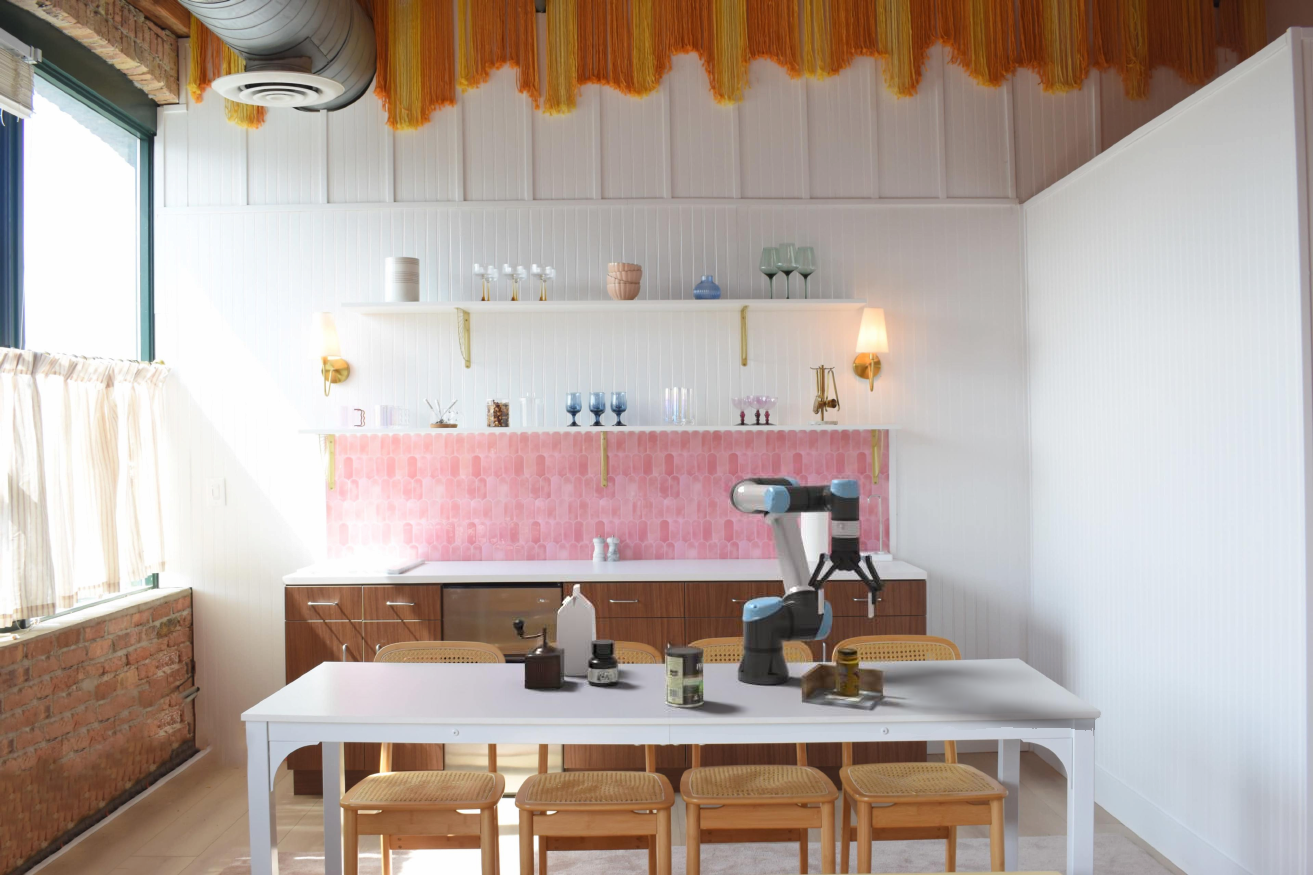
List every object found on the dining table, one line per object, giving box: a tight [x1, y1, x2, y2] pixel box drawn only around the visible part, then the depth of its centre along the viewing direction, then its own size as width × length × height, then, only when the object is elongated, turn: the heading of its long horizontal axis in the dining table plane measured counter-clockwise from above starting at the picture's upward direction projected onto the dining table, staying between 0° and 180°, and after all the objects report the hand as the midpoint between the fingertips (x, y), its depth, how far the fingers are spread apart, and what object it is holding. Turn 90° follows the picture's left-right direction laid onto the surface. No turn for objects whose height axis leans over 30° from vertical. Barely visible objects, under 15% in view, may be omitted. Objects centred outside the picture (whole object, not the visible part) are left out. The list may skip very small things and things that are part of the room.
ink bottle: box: [587, 639, 619, 687], centre depth 266 cm, size 10×9×12 cm
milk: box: [555, 584, 597, 677], centre depth 282 cm, size 12×12×26 cm
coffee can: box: [664, 645, 705, 709], centre depth 245 cm, size 10×10×14 cm
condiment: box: [824, 647, 865, 699], centre depth 248 cm, size 7×8×12 cm
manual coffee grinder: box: [512, 618, 566, 690], centre depth 266 cm, size 16×11×18 cm
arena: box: [801, 663, 884, 711], centre depth 248 cm, size 18×16×7 cm
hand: (845, 615), depth 248 cm, fingers open, 13 cm apart
